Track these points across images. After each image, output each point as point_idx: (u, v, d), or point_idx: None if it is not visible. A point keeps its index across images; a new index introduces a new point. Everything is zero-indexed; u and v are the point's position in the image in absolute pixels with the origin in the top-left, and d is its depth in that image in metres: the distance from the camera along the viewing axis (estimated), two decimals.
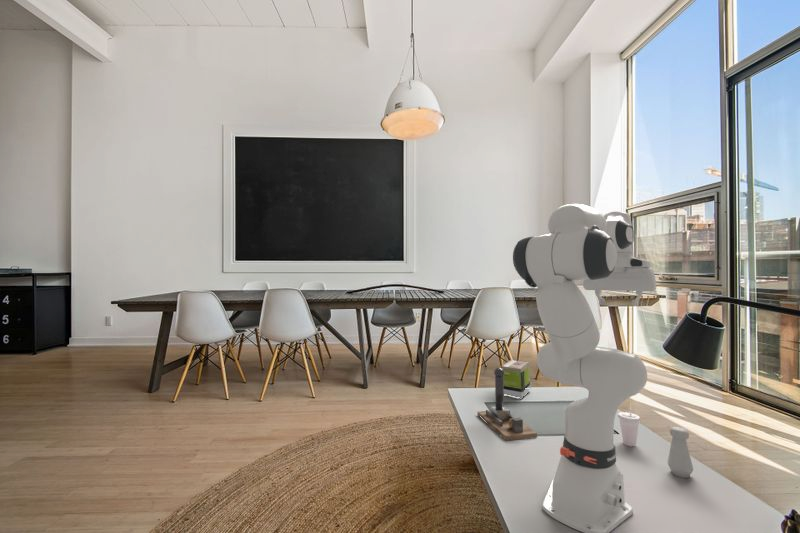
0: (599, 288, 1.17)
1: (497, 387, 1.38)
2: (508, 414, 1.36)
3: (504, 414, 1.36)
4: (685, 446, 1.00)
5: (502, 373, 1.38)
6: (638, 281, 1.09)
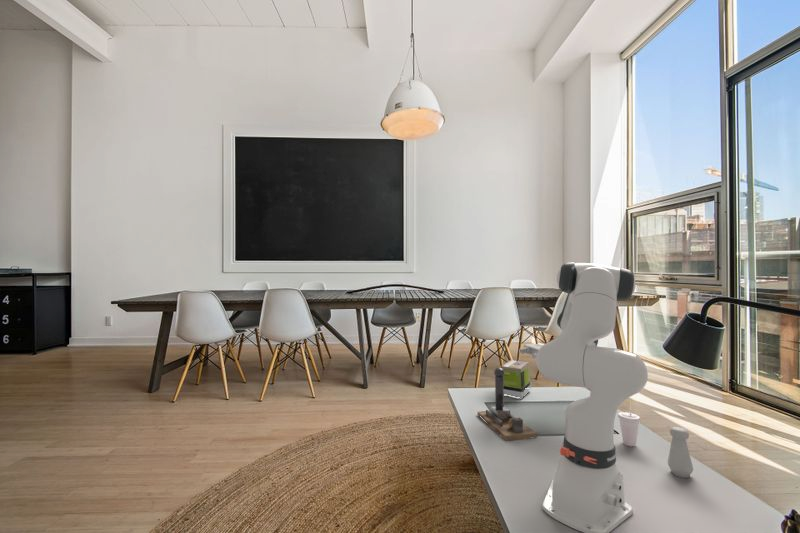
0: (530, 346, 1.48)
1: (497, 387, 1.38)
2: (508, 414, 1.36)
3: (504, 414, 1.36)
4: (685, 446, 1.00)
5: (502, 373, 1.38)
6: None
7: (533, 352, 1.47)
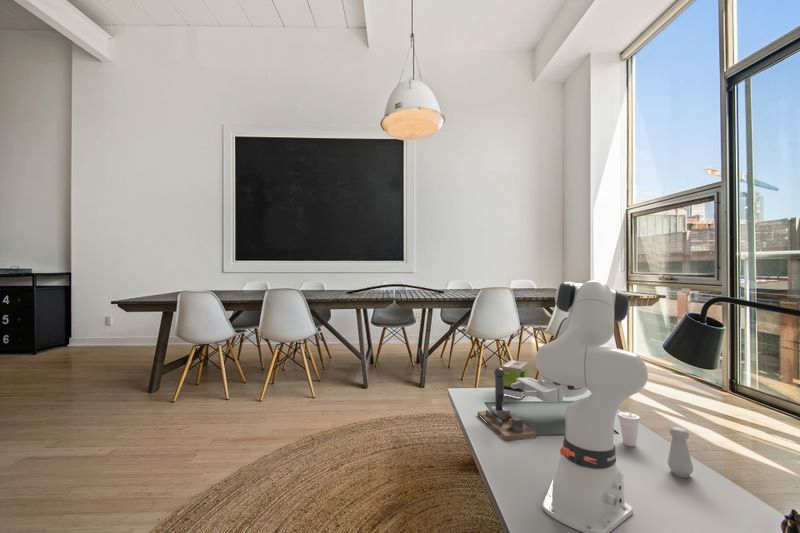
0: (523, 381, 1.47)
1: (497, 387, 1.38)
2: (508, 414, 1.36)
3: (504, 414, 1.36)
4: (685, 446, 1.00)
5: (502, 373, 1.38)
6: (544, 388, 1.37)
7: (525, 387, 1.45)
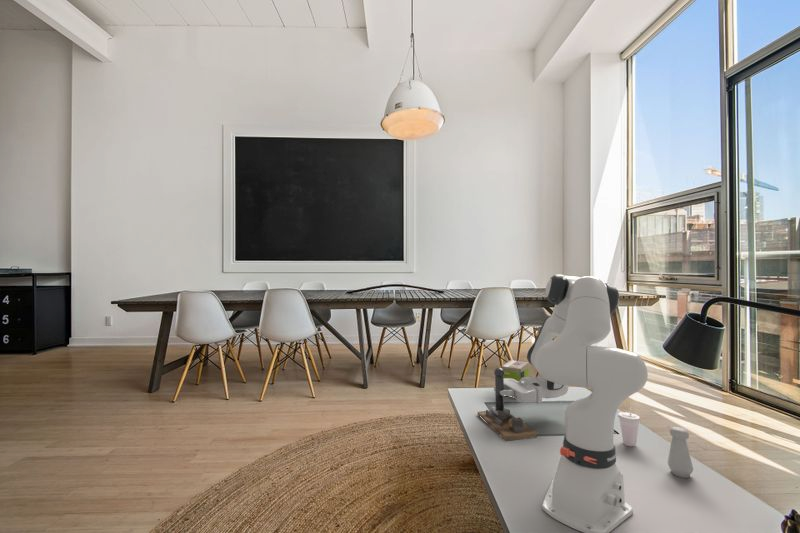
0: None
1: (497, 387, 1.38)
2: (508, 414, 1.36)
3: (504, 414, 1.36)
4: (685, 446, 1.00)
5: (502, 373, 1.38)
6: (523, 389, 1.35)
7: None
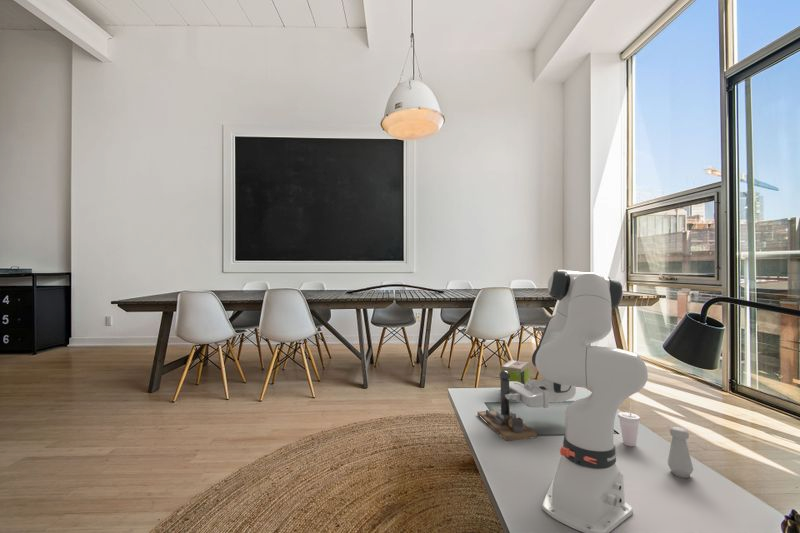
0: None
1: (502, 390, 1.34)
2: None
3: (510, 418, 1.31)
4: (685, 446, 1.00)
5: (508, 376, 1.34)
6: (529, 393, 1.31)
7: None
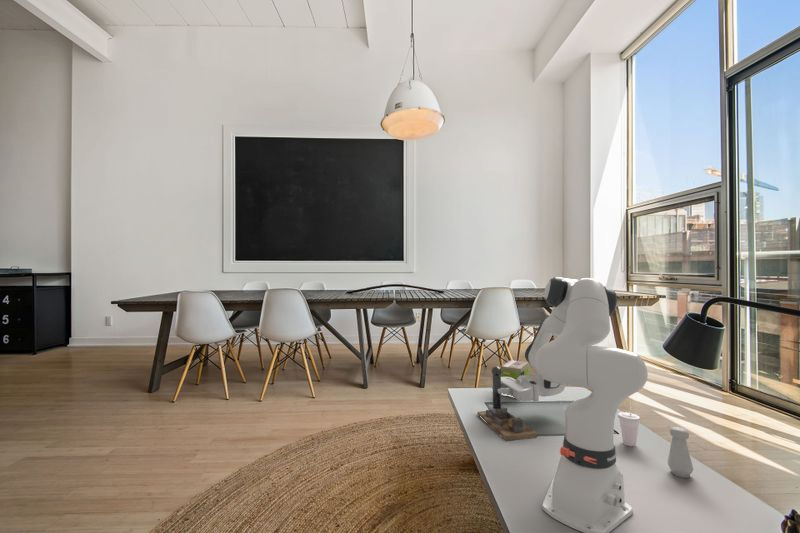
0: None
1: (494, 385, 1.40)
2: (505, 412, 1.38)
3: (502, 412, 1.38)
4: (685, 446, 1.00)
5: (499, 372, 1.40)
6: (520, 387, 1.37)
7: None
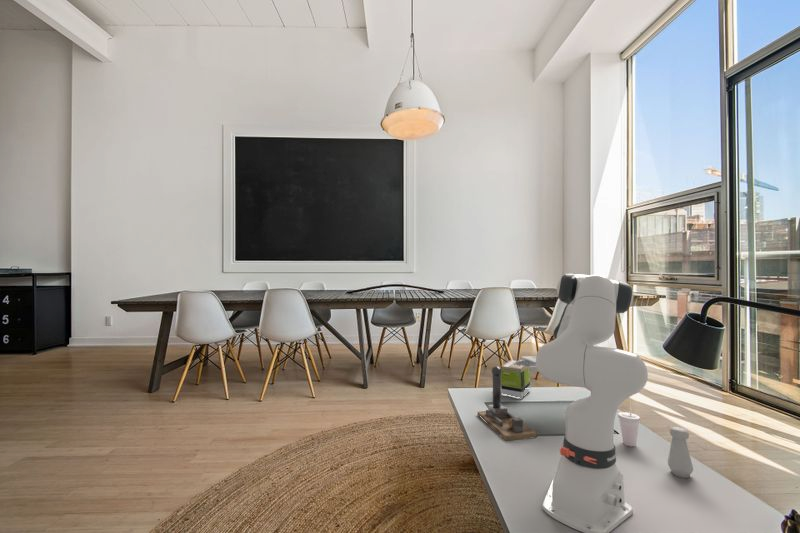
0: (527, 358, 1.50)
1: (494, 385, 1.40)
2: (505, 412, 1.38)
3: (502, 412, 1.38)
4: (685, 446, 1.00)
5: (499, 372, 1.40)
6: None
7: (530, 364, 1.48)
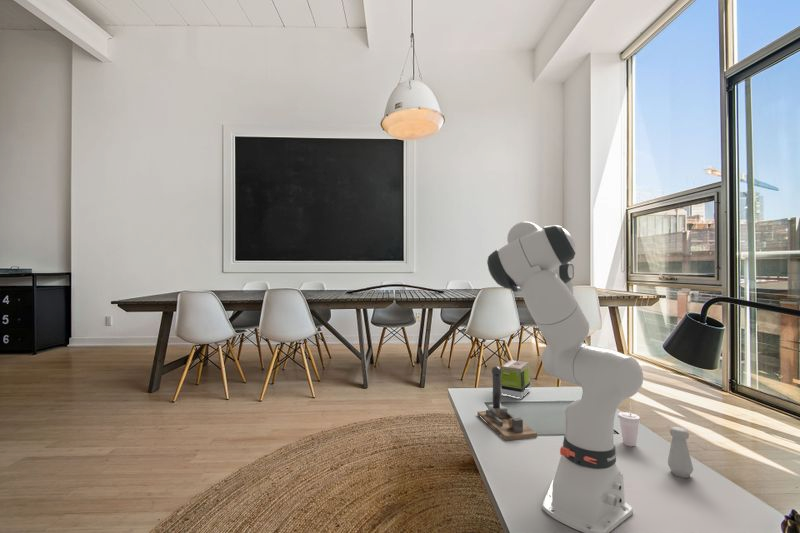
0: None
1: (494, 385, 1.40)
2: (505, 412, 1.38)
3: (502, 412, 1.38)
4: (685, 446, 1.00)
5: (499, 372, 1.40)
6: None
7: None
